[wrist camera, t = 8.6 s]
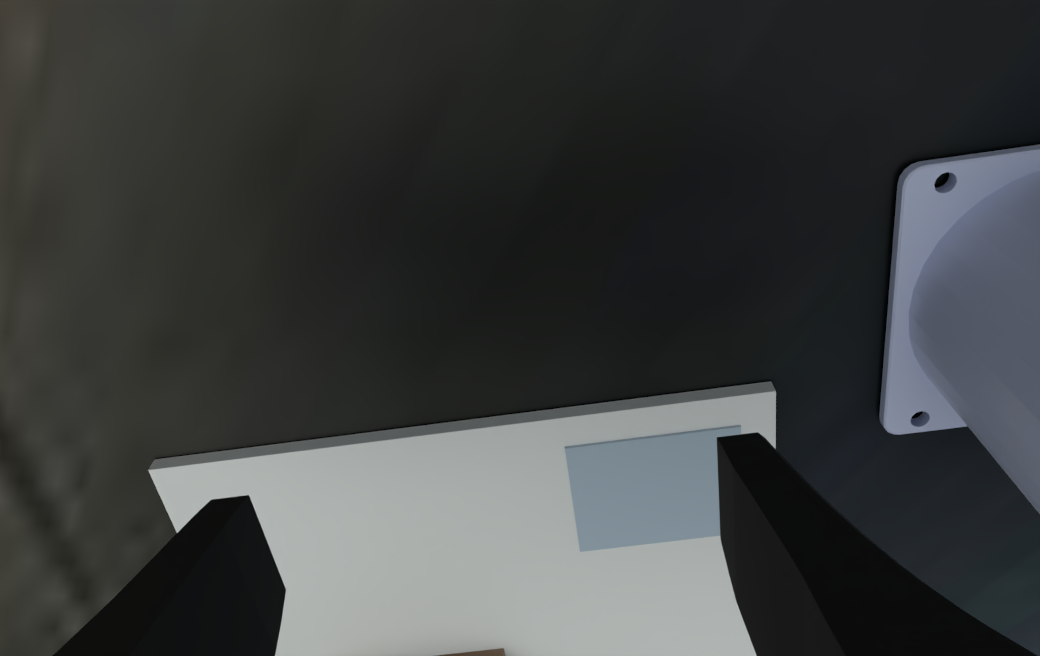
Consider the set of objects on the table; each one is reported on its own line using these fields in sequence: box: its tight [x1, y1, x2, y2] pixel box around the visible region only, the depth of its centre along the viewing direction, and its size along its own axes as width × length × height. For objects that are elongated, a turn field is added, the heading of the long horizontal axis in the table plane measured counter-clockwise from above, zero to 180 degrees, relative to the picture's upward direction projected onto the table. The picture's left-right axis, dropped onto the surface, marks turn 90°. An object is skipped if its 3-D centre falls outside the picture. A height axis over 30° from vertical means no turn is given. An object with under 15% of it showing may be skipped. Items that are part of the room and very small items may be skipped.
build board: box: [148, 381, 776, 656], centre depth 28 cm, size 18×16×1 cm
